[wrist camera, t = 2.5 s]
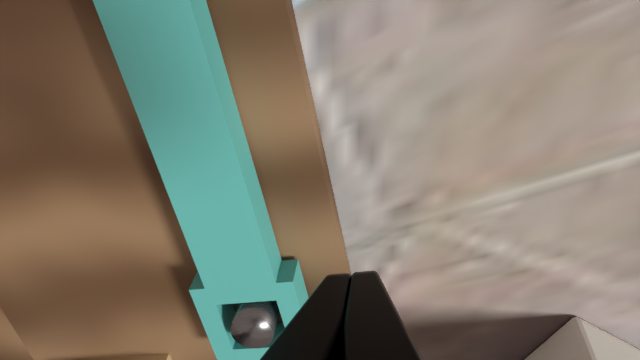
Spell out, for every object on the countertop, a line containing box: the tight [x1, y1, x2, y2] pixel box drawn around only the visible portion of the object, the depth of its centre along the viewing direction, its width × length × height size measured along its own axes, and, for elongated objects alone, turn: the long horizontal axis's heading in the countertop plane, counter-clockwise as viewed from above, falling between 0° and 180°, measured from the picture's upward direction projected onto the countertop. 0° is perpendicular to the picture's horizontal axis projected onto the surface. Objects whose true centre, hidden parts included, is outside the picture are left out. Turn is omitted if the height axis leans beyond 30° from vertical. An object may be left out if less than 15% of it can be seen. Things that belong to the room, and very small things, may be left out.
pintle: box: [230, 300, 279, 348], centre depth 24 cm, size 2×2×3 cm
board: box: [0, 0, 351, 360], centre depth 23 cm, size 24×26×3 cm
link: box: [93, 0, 309, 360], centre depth 20 cm, size 20×4×1 cm, turn 11°
